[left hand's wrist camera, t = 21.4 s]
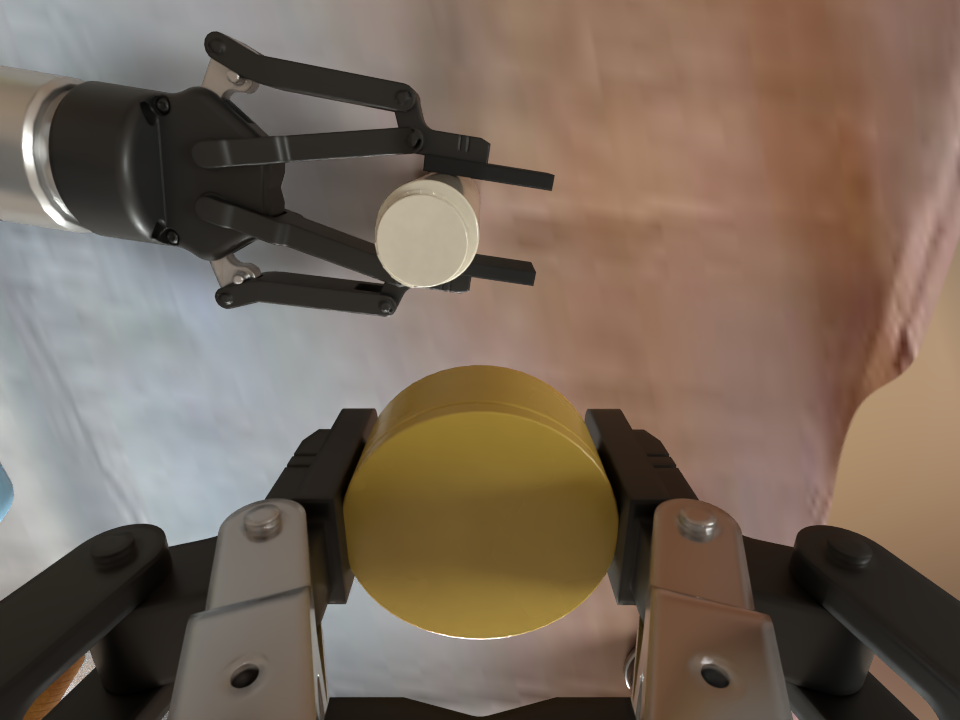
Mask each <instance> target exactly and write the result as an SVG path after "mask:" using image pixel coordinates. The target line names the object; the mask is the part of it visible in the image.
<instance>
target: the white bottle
mask: <svg viewBox="0 0 960 720" xmlns="http://www.w3.org/2000/svg"><path fill="white" fill-rule="evenodd" d="M480 205H481V201H480V194H479V191H478V188H477V186H476V184H475V183H474V181H473V180H472V179H471V178H467V177H461V176H454V175H448V174H442V173H435V172H432V173H429V174H427V175H425V176H422V177H420V178H418V179H415V180H413V181H410V182H408V183H406V184H403V185H402V186H400V187H398V188H397V189H395V190H394V191H393V192H392V193H391V194H390V195H389V196H388V197H387V198H386V199H385V201H384V202H383V204H382V206H381V208H380V210H379V212H378V215H377V219H376V226H375V242H374V243H375V247H376V251H377V256H378V258H379V260H380V262H381V264H382V265H383V268H384V269H385V270H386V271H387V272H388V273H389V274H390V275H391V277H392V278H394V279H395V280H397V281H398V282H400V283H401V284H402V285H405V286H408V287H411V288H414V286H416V287H432V286H437V285H439V284H443V283H446V282H449V281H451V280H453V279H455V278H456V277H458V276H459V275H461V274H462V273H463V272H464V271H465V270H466V269H467V268H468V266H469V265H470V264H471V262H472V260H473V259H474V256H475V254H476V251H477V248H478V243H479V228H480Z"/></svg>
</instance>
